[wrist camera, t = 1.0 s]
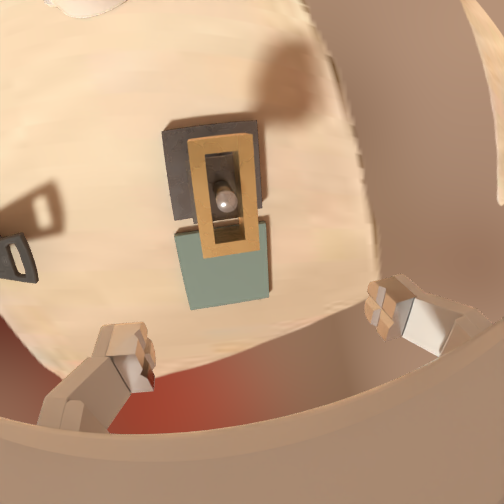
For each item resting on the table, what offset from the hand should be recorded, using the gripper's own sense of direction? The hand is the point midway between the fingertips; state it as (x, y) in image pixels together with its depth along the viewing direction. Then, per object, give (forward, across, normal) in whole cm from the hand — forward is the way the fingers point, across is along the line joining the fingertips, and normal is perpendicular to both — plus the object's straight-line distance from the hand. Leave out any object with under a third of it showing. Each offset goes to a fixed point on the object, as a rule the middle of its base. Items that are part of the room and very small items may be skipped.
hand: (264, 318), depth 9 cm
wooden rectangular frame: (+18, 0, 0) cm, 18 cm away
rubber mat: (+30, 0, +14) cm, 33 cm away
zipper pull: (+30, +39, +5) cm, 50 cm away
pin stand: (+30, 0, -1) cm, 30 cm away
